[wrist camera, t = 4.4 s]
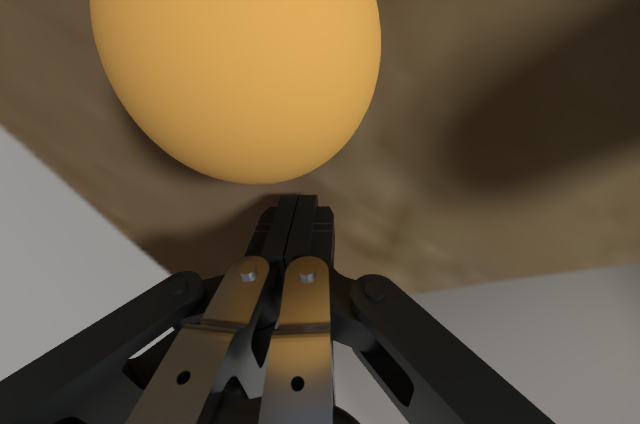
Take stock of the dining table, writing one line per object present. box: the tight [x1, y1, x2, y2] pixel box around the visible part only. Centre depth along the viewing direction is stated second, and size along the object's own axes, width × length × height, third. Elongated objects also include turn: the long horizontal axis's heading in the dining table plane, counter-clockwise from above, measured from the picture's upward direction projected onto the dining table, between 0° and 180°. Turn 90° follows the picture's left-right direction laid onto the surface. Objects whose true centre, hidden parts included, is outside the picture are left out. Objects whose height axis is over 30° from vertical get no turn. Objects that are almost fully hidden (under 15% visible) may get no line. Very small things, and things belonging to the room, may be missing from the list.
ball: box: [90, 0, 381, 185], centre depth 7 cm, size 6×6×6 cm
